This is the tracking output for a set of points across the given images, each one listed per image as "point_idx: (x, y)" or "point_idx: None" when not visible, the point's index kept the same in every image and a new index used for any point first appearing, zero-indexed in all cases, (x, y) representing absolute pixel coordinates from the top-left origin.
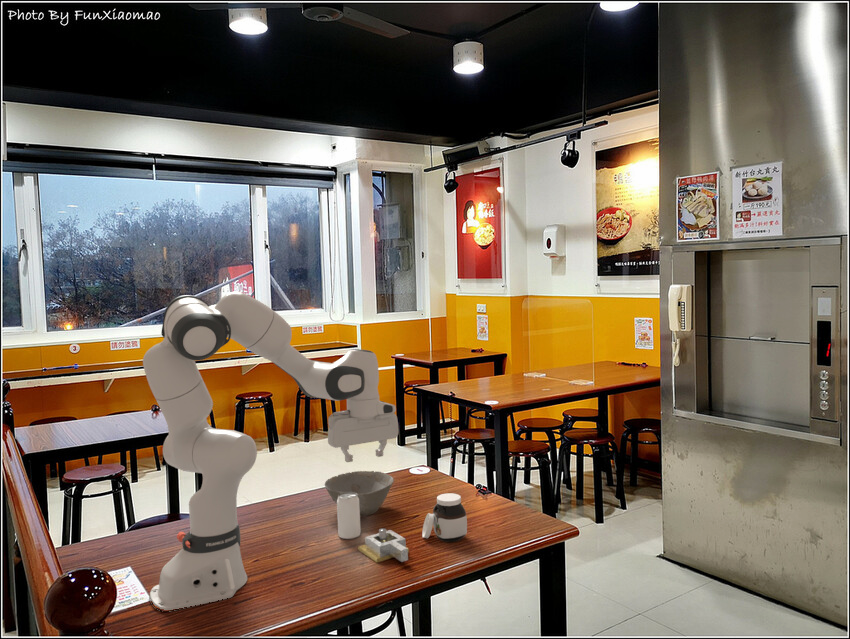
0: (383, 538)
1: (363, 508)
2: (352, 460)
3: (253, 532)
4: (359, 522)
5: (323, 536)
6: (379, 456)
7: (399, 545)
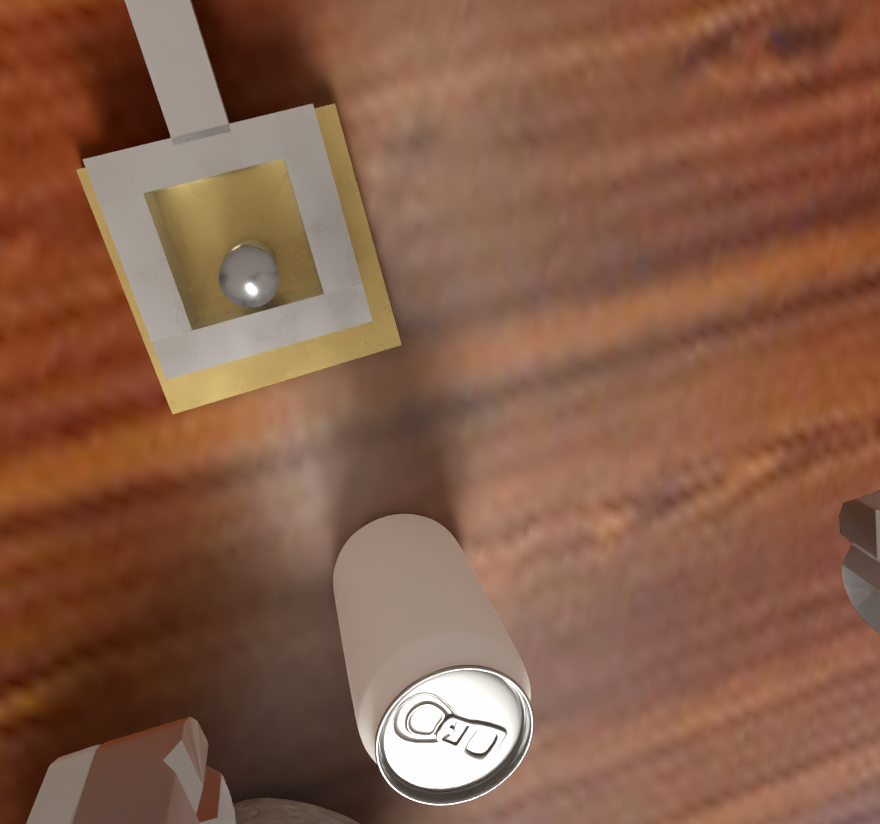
0: (251, 244)
1: (271, 802)
2: (867, 496)
3: (818, 743)
4: (350, 584)
5: (536, 600)
6: (166, 728)
7: (160, 47)
